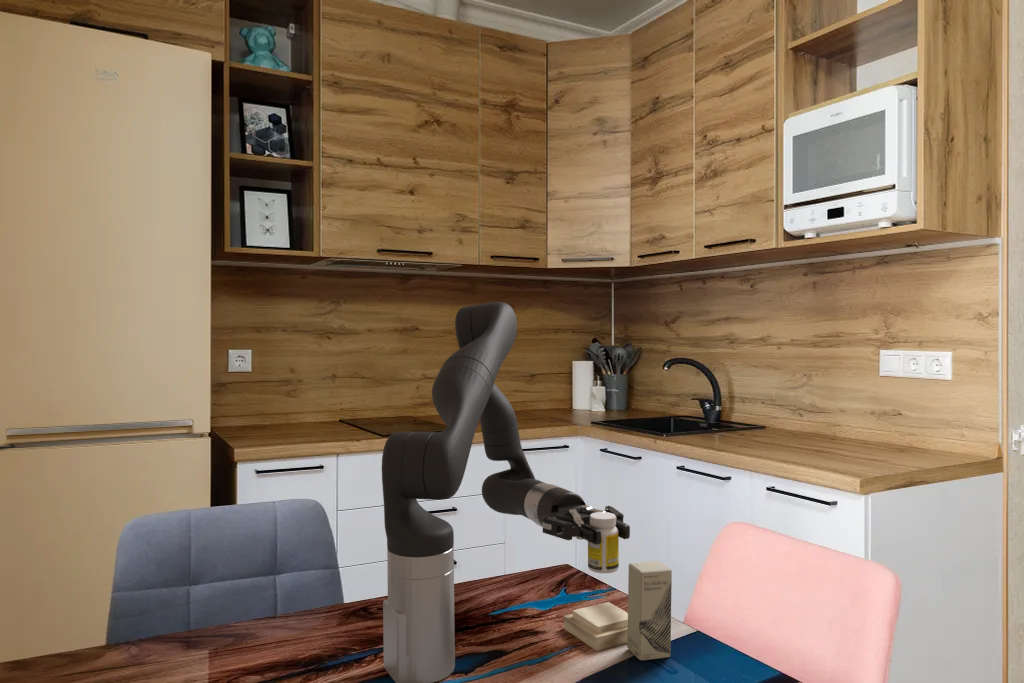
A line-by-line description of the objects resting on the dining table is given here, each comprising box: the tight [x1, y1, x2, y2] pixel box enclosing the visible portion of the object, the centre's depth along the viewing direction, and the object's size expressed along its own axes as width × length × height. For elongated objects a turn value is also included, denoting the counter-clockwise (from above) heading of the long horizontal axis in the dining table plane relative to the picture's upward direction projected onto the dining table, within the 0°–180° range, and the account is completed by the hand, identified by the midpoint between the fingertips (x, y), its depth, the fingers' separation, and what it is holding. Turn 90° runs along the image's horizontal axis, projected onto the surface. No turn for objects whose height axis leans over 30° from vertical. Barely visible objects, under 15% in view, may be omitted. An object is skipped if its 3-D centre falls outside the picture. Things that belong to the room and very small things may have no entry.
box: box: [626, 560, 673, 661], centre depth 104 cm, size 5×4×13 cm
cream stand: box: [563, 601, 628, 652], centre depth 110 cm, size 9×9×3 cm
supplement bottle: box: [587, 512, 620, 574], centre depth 110 cm, size 5×5×8 cm
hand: (613, 535), depth 108 cm, fingers closed on supplement bottle, 4 cm apart
